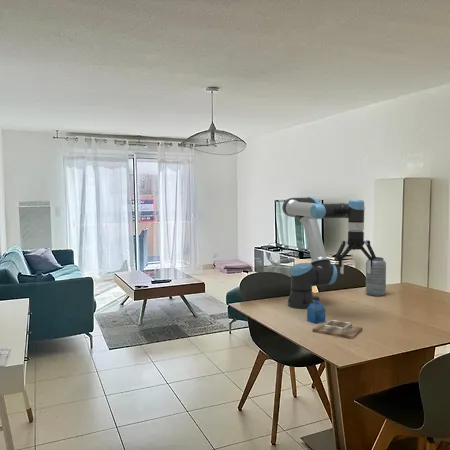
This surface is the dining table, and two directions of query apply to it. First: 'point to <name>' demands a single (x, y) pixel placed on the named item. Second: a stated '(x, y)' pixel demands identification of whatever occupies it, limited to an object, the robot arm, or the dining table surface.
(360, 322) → the dining table surface
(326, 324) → the brown board with frame
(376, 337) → the dining table surface
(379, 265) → the vase
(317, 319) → the perfume bottle
